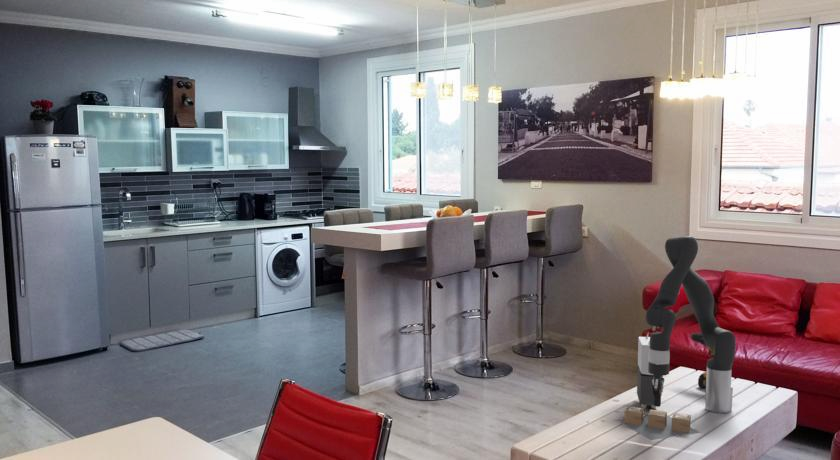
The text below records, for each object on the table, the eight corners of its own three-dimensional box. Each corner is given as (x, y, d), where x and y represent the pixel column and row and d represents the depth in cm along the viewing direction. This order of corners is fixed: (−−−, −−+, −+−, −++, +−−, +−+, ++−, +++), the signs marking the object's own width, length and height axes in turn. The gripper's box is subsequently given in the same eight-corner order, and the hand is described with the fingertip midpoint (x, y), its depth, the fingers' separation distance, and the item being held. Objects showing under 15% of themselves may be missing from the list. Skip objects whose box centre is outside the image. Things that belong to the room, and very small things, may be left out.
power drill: (692, 379, 336) (694, 326, 334) (733, 391, 318) (735, 335, 316) (681, 382, 332) (683, 328, 330) (722, 394, 314) (724, 338, 312)
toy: (659, 412, 291) (661, 338, 289) (640, 411, 293) (642, 337, 290) (655, 400, 306) (657, 330, 303) (636, 399, 307) (638, 329, 305)
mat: (662, 414, 289) (662, 413, 289) (701, 434, 268) (701, 432, 268) (615, 421, 281) (615, 419, 281) (650, 441, 261) (651, 439, 261)
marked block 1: (627, 418, 282) (627, 405, 282) (643, 421, 280) (643, 407, 279) (624, 423, 277) (625, 410, 276) (640, 426, 274) (641, 412, 274)
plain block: (650, 422, 279) (650, 409, 278) (666, 424, 276) (667, 411, 276) (647, 427, 273) (648, 414, 273) (664, 429, 271) (664, 416, 270)
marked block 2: (673, 425, 275) (673, 412, 274) (690, 428, 272) (690, 414, 272) (671, 430, 270) (671, 417, 269) (688, 433, 267) (689, 419, 266)
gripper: (651, 355, 280) (649, 399, 282) (645, 363, 268) (644, 409, 270) (671, 357, 277) (670, 402, 278) (667, 366, 265) (665, 412, 266)
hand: (657, 405), depth 274 cm, fingers closed
